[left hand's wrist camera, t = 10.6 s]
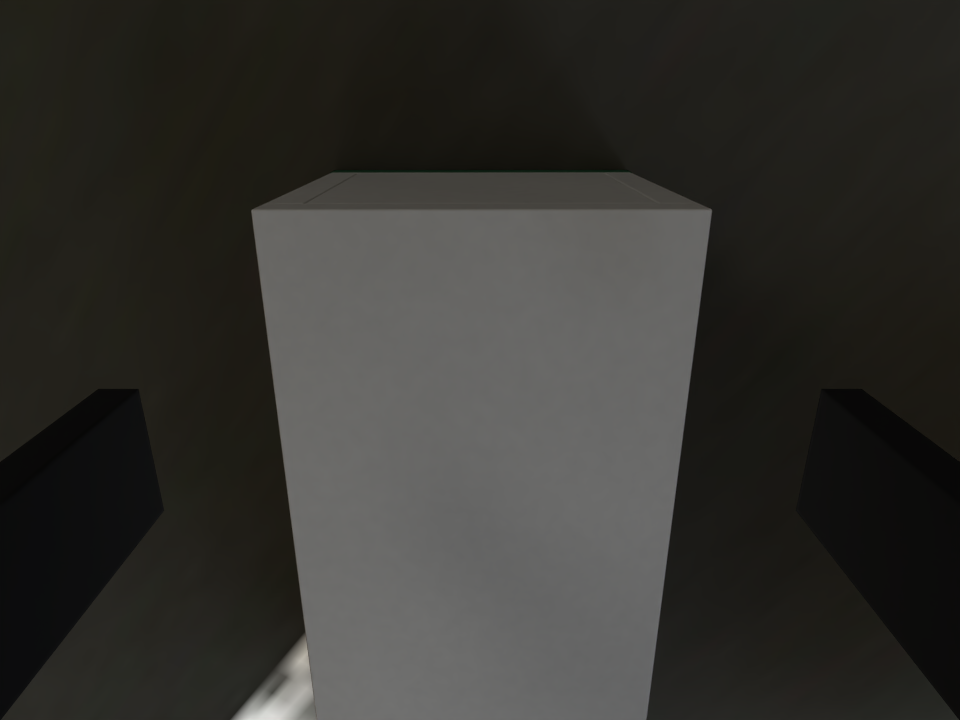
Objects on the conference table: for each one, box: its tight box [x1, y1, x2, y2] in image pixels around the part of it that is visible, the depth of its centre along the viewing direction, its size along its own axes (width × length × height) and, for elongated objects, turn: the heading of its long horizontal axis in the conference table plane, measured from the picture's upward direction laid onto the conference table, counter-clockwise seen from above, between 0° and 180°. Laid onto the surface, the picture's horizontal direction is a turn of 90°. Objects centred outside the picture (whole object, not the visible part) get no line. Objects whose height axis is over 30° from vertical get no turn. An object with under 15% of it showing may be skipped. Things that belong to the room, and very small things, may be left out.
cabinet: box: [251, 170, 712, 720], centre depth 24 cm, size 19×11×10 cm, turn 0°
